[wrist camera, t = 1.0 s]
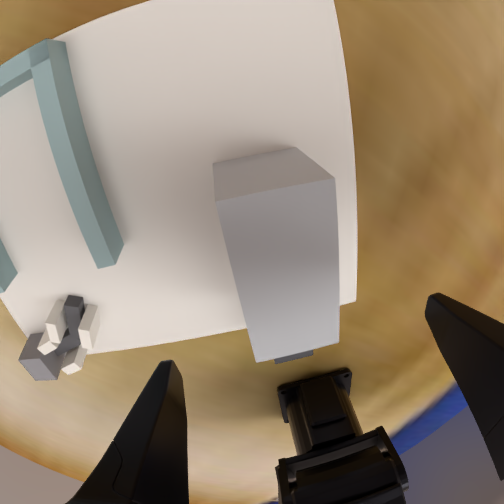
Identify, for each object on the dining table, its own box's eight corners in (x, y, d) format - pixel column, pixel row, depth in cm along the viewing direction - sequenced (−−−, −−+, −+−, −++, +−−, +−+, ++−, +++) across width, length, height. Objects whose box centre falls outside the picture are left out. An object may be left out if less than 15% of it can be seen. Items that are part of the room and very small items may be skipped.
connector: (296, 147, 14) (335, 178, 10) (312, 313, 20) (337, 373, 15) (212, 163, 14) (215, 201, 10) (251, 327, 20) (264, 391, 15)
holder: (65, 42, 10) (46, 38, 8) (124, 244, 16) (115, 264, 14) (-52, 117, 10) (-73, 124, 8) (8, 276, 15) (-6, 294, 14)
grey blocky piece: (112, 346, 19) (106, 376, 17) (45, 354, 19) (35, 380, 17) (80, 292, 17) (67, 321, 14) (11, 306, 17) (-3, 332, 14)
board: (351, 293, 20) (355, 301, 20) (45, 351, 20) (42, 358, 19) (322, -17, 11) (328, -22, 10) (-62, 122, 10) (-70, 124, 9)
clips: (121, 345, 19) (116, 370, 17) (66, 352, 19) (58, 375, 17) (90, 292, 17) (80, 316, 15) (33, 304, 17) (21, 326, 15)
